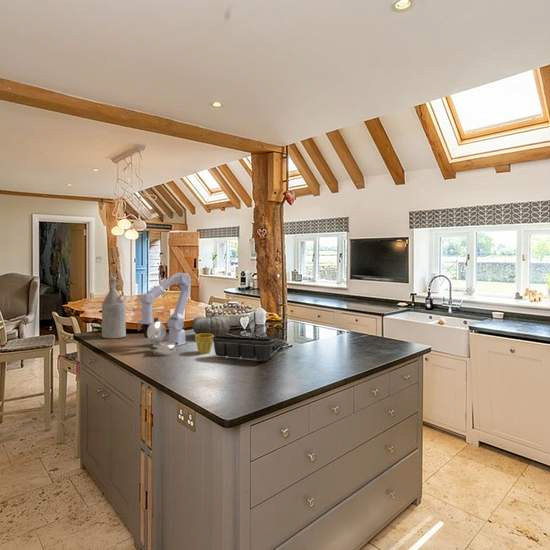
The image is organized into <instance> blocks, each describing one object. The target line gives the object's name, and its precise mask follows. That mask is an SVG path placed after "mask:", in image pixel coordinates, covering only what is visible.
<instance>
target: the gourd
mask: <svg viewBox="0 0 550 550" xmlns="http://www.w3.org/2000/svg"><path fill="white" fill-rule="evenodd" d="M215 314H216V312H215V311H214V312H213V313H212V315H211V316H203V315H199V316H196V317H195V318H194V319H193V321H192V325H191V326H192V327H191V328H192V329H193V332H194V333H195V335H197V334H213V335H214V336H227V335H228V333H229V331H230V329H231V321H230V319H229V318H228V316H225V315H220V316H215Z"/></svg>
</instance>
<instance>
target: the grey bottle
mask: <svg viewBox="0 0 550 550" xmlns="http://www.w3.org/2000/svg"><path fill="white" fill-rule="evenodd" d="M109 283H110V285H109V287H110V290H109V291H108V293H107V295H106V296H105V298H104V299H103V301H102V303H101V337H102V338H103V339H120V338H125V337H126V336H127V331H126V330H127V327H126V325H127V321H126V314H127V313H126V302H125V300H126V299H127V297H126V294H120V293H119V292H118V290H119V289H120V283H119V282H118V281H117V277H116V276H109ZM117 284H118V286H117ZM116 287H117V289H116ZM122 297H123V298H124V299H123V298H122Z"/></svg>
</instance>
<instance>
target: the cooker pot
mask: <svg viewBox="0 0 550 550" xmlns="http://www.w3.org/2000/svg"><path fill="white" fill-rule="evenodd" d="M176 345H177V346H179V345H178V343H176V342H175V343H173V342H169V341H161V342H159V343H153V344H152V347H151V346H150V347H149V350H150V351H152V354H153V355H154V356H157V357H158V356H159V357H166V356H167V357H168V356H174V355H175V354H176Z"/></svg>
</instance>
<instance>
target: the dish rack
mask: <svg viewBox="0 0 550 550" xmlns="http://www.w3.org/2000/svg"><path fill="white" fill-rule="evenodd" d="M280 334H281V333H279V332H278V331H275V332H274V333H273V334H270V332H269V330H267V331H265V332H263V333H262V334H261V332H260V331H259V330H256V331H254V332H253V333H251V330H249V329H248V330H245V331H243V332H242V331H241V330H240V329H238V330H237V329H236V330H235V331H234V332H231V333H230V334H226V335H224V336H213V337H212V339H213V342H212V343H213V347H214V354H215V355H216V356H217V357H224V358H225V357H228V358H237V359H239V358H241V359H251V360H254V359H257V360H269V359H270V358H271V357H272V356H273V357H274V354H275V353H277V352H278V350H279V349H280V348H281V349H282V347H283V345H285V344H286V340H281V338H280V337H281V336H280ZM273 349H274V351H273Z"/></svg>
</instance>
